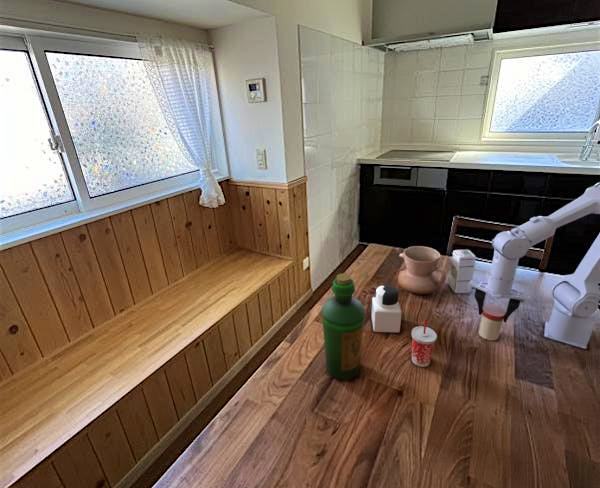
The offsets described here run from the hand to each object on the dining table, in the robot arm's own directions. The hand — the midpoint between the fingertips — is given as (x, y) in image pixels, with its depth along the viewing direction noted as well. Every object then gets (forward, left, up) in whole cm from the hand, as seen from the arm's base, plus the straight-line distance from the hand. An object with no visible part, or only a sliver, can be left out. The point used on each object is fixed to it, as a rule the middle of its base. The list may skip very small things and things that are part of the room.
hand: (492, 316), depth 96 cm
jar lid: (0, 0, +2) cm, 2 cm away
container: (+27, +12, -7) cm, 30 cm away
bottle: (+29, +35, -7) cm, 46 cm away
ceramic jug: (+25, -14, -7) cm, 29 cm away
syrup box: (+13, -21, -7) cm, 26 cm away
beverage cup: (+13, +21, -7) cm, 25 cm away
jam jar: (0, 0, -6) cm, 6 cm away
